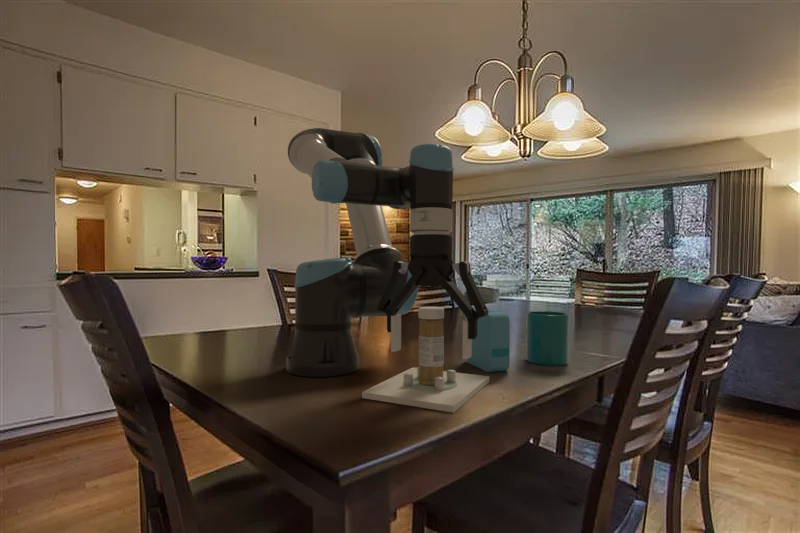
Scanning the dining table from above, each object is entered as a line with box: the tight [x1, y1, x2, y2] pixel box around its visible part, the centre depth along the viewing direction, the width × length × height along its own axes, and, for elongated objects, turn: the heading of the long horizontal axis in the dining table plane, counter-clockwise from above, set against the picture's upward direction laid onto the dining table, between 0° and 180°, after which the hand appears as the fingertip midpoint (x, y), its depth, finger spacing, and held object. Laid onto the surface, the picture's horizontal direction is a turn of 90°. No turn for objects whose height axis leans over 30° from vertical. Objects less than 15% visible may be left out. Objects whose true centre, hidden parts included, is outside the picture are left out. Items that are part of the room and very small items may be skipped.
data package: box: [464, 309, 511, 373], centre depth 98 cm, size 12×4×12 cm, turn 17°
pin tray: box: [361, 366, 490, 413], centre depth 80 cm, size 16×20×3 cm
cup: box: [525, 310, 569, 367], centre depth 104 cm, size 9×12×11 cm
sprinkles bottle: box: [417, 306, 445, 386], centre depth 80 cm, size 5×5×14 cm
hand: (430, 354), depth 80 cm, fingers open, 13 cm apart
